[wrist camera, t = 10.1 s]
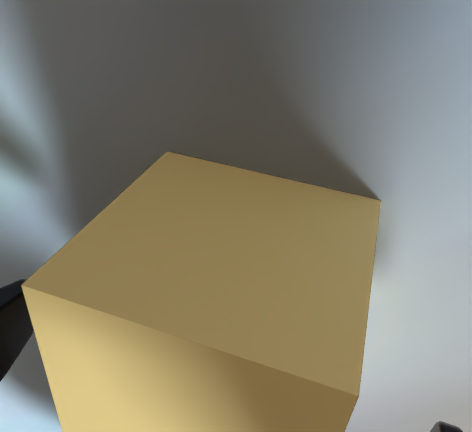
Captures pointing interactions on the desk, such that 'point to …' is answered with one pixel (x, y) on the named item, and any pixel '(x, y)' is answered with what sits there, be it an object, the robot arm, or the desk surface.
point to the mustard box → (209, 305)
